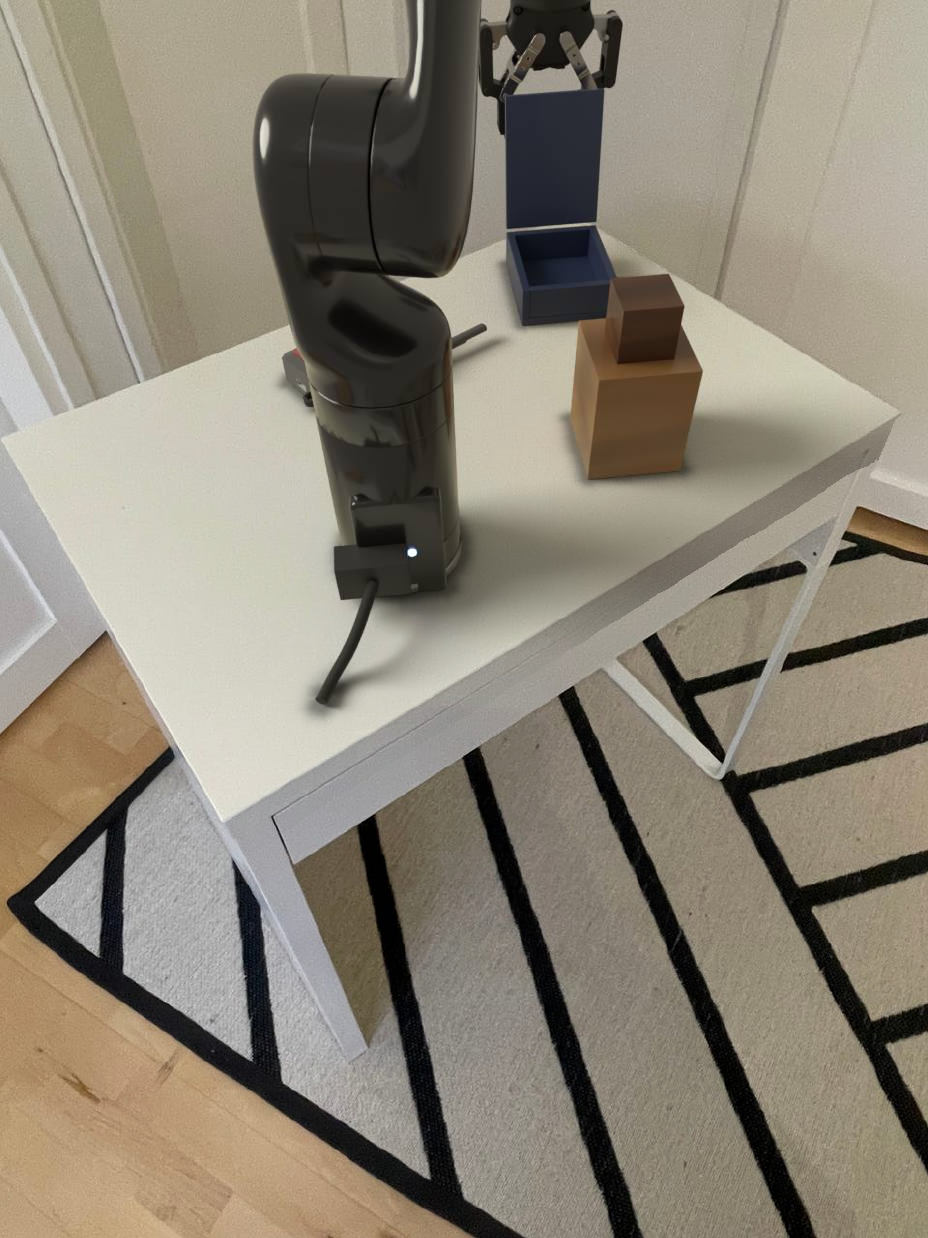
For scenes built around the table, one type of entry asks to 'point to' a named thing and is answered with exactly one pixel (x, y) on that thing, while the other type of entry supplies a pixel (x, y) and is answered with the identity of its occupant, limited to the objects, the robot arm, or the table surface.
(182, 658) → the table surface
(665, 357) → the block
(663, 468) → the stand
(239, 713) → the table surface
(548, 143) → the cover
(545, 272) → the navy jewelry box
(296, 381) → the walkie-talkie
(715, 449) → the table surface
